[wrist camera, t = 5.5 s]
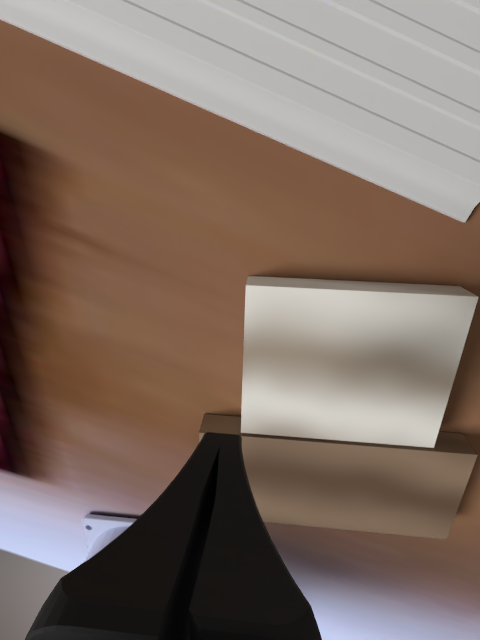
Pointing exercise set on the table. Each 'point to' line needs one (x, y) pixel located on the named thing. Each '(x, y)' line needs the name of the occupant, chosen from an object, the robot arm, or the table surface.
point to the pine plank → (351, 358)
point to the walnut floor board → (354, 481)
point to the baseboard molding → (306, 76)
